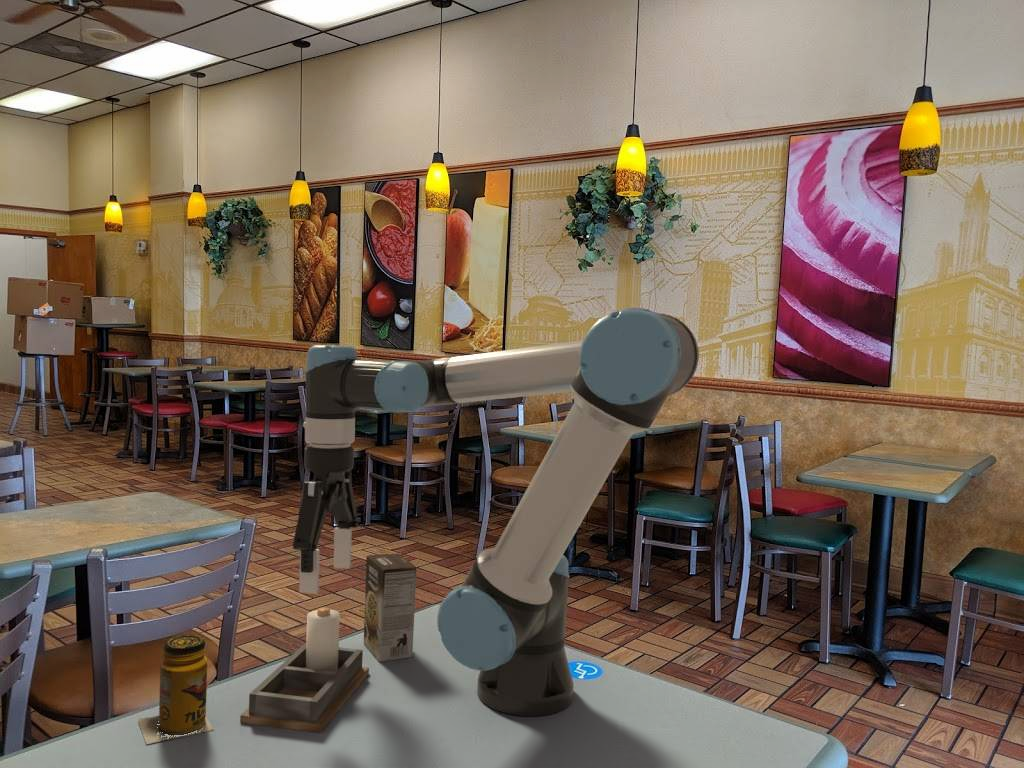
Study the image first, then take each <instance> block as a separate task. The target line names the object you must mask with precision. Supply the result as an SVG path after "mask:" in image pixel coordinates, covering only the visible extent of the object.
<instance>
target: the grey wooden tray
mask: <svg viewBox="0 0 1024 768" xmlns="http://www.w3.org/2000/svg"><path fill="white" fill-rule="evenodd" d="M363 651H364V649H358V648H357V649H356V648H348V647H339V651H338V671H337V672H333V671H325V670H316V669H307V668H305V667H306V643H303V644H302V645H301V646H300V647H299V648H298V649H297V650H296V651H294V652H293V654H291V655H290V656H289V657H288V658H287V659H286V660H284V662H283V663H281V664H280V665H279V666H278V667H277V668H276V669H275V670H274V671H272V672H271V673H270V674H269V675H268V676H267V677H266V678H265V679H264V680H263V681H262V682H261V683H260V684H259V685H258V686H256V687H255V688H253V690H251V692H250V693H249V695H248V696H249V697H248V698H249V699H248V707H247V708H246V709H245V710H244V711H243V712H242V713H241V714H240V715H239V716H240V717H239V718H240V719H239V722H240V723H244V724H250V725H251V724H252V725H259V726H265V727H276V728H281V727H282V729H289V728H290V729H291V730H299V731H305V732H314V733H321V734H322V732H323V731H324V730H325V729H326V728H327V726H328V725H329V724H330V722H331V721H332V720H333V718H334V717H335V716H336V715H337V713H338V712H339V711H340V710H341V708H343V706H344V705H345V704H346V702H347V701H348V700H349V699H350V698H351V696H353V693H355V691H356V690H357V689H358V688H359V686H360V685H361V684H362V683H363V681H364V680H365V678H367V676H368V675H369V672H370V671H369V670H370V667H368V666H363V655H364V654H363Z"/></svg>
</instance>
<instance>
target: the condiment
mask: <svg viewBox="0 0 1024 768" xmlns="http://www.w3.org/2000/svg"><path fill="white" fill-rule="evenodd" d="M205 647H206V642H205V639H204V638H203V636H199V635H197V634H196V635H193V634H184V635H183V634H182V635H177V636H174V637H171V638H169V639H167V641H166V642H164V645H163V655H162V657H163V659H162V660H161V663H160V667H159V708H158V710H159V711H158V713H159V714H158V715H156V716H150V717H148V716H147V717H142V718H138V719H137V720H138V725H139V727H140V731H141V734H142V736H143V739H144V741H145V744H146V745H150V744H153V743H159V742H161V741H167V740H171V739H177V738H179V737H176V736H175V737H174V735H184V734H187V735H185V736H183V737H182V738H184V737H188V736H193V735H197V734H201V733H206V732H210V731H212V730H214V728H213V726H212V724H211V722H210V721H209V719H208V717H207V715H206V714H207V713H206V712H207V690H208V689H207V687H208V686H207V681H208V659H207V656H206V655H205V654H206V650H205ZM158 721H159V722H158ZM157 724H160V725H157ZM157 727H158V728H157ZM202 728H203V729H202ZM196 730H197V732H198V733H196V732H195V733H196V734H195V733H194V734H192V733H191V732H194V731H196ZM200 730H201V731H202V732H201V731H200ZM199 731H200V732H199ZM158 732H159V733H160V732H161V733H162V732H163V733H162V734H159V735H157V733H158ZM188 733H191V734H189V735H188ZM164 734H168V735H171V736H172V735H173V737H171V736H170V737H171V738H170V737H169V739H167V738H168V737H167V736H166V737H162V738H161V735H164ZM157 736H158V737H157ZM166 739H167V740H166Z"/></svg>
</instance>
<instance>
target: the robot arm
mask: <svg viewBox="0 0 1024 768" xmlns="http://www.w3.org/2000/svg"><path fill="white" fill-rule="evenodd" d="M699 358H700V352H699V346H698V341H697V339H696V337H695V335H694V333H693V331H691V329H690V327H689V326H687V325H686V324H685V323H684V322H683V321H681V319H679V318H677V317H674V316H673V315H669V314H665V313H661V312H655V311H652V310H650V309H648V308H643V307H628V308H624V309H620V310H617V311H616V310H614V311H613V312H610V313H608V314H606V315H604V316H602V317H601V318H599V319H598V320H597V321H596V322H595V323H594V324H593V325H592V326H591V327H590V328H589V330H588V331H587V333H585V336H584V338H583V339H579V340H571V341H566V342H563V341H562V342H557V343H551V344H542V345H535V346H526V347H521V348H520V347H519V348H512V349H505V350H498V351H497V350H496V351H490V352H489V351H488V352H483V353H482V352H481V353H474V354H468V355H461V356H454V357H442V358H437V359H436V358H435V359H428V360H380V359H379V360H378V359H377V360H375V359H373V360H372V359H359V358H358V355H357V349H356V348H355V347H354V346H351V345H350V346H348V345H347V346H346V345H324V344H322V345H321V344H315V345H311V346H310V348H308V350H307V358H306V367H305V370H304V371H305V372H304V375H305V421H304V422H303V424H302V427H303V428H304V429H305V433H304V435H305V436H304V441H305V442H306V443H307V445H306V446H305V447H304V455H303V456H304V457H303V467H304V469H305V470H306V471H308V472H312V473H313V480H312V481H308V480H307V481H306V480H305V481H304V482H303V491H302V500H301V503H300V508H299V514H298V518H297V522H296V523H297V524H296V528H295V532H294V537H293V542H292V548H293V550H296V551H297V550H298V551H299V580H298V582H299V585H298V587H299V588H298V590H299V591H298V592H299V593H301V594H313V595H317V594H318V593H319V591H320V590H319V589H320V588H319V587H320V549H319V548H318V543H319V540H320V537H321V534H322V532H323V527H324V525H325V521H326V517H327V514H328V512H330V511H332V512H331V513H332V515H333V518H334V521H335V524H336V527H335V528H334V533H333V535H334V536H333V537H334V538H333V539H334V540H333V568H336V569H338V568H339V569H348V570H349V569H351V567H352V534H353V533H352V530H353V529H352V528H358V523H359V522H358V514H357V513H358V512H357V507H356V500H355V495H354V489H353V483H352V482H353V481H352V480H353V479H352V470H353V469H354V465H355V448H354V446H353V445H351V444H353V443H354V442H355V439H356V438H355V437H356V416H355V415H356V409H357V410H359V409H363V410H372V411H382V412H383V411H384V412H390V413H394V414H395V413H396V414H398V413H415V412H416V411H419V409H420V408H422V407H423V408H426V407H439V406H446V405H455V404H462V403H463V404H464V403H472V402H480V401H492V400H500V399H501V400H502V399H509V398H510V399H513V398H520V397H521V398H522V397H532V396H539V395H540V396H541V395H551V394H561V393H562V394H563V393H570V392H571V394H572V395H571V396H572V398H573V405H572V406H571V407H570V410H569V411H568V414H567V415H566V417H565V419H564V421H563V422H562V425H561V426H560V428H559V430H558V432H557V433H556V435H555V437H554V439H553V440H552V443H550V444H551V445H550V446H549V448H548V450H547V452H546V454H545V455H544V457H543V459H542V461H541V463H540V464H539V466H538V468H537V470H536V472H535V473H534V475H533V477H532V479H531V480H530V483H529V484H528V487H527V488H526V490H525V492H524V493H523V496H522V497H521V499H520V501H519V503H518V504H517V506H516V508H515V510H514V511H513V514H512V515H511V518H510V519H509V521H508V523H507V525H506V527H505V528H504V530H503V532H502V534H501V535H500V538H499V540H498V541H497V543H496V544H495V546H494V547H491V548H486V549H483V550H482V551H480V552H479V554H478V555H477V557H476V559H475V560H474V562H473V564H472V566H471V568H470V569H469V572H468V573H467V575H466V577H465V579H464V580H463V582H462V584H461V585H460V586H458V587H455V588H453V589H452V590H451V591H449V593H448V594H447V595H446V596H445V597H444V598H443V599H442V601H441V604H440V606H439V607H438V612H437V620H436V621H437V623H436V624H437V630H438V632H439V634H440V636H441V638H440V639H441V642H442V644H443V646H444V648H445V649H446V651H447V652H448V653H449V655H450V656H452V658H453V659H455V660H456V661H457V662H458V663H459V664H460V665H462V666H464V667H466V668H469V669H470V670H475V671H479V673H478V676H477V677H478V678H477V689H476V690H477V691H476V693H477V694H476V695H477V696H478V699H479V700H480V701H481V702H482V703H483V704H485V705H486V706H488V707H490V708H491V709H493V710H495V711H499V712H502V713H505V714H509V715H515V716H522V717H523V716H524V717H525V716H526V717H539V716H546V715H551V714H556V713H558V712H561V711H562V710H566V708H568V707H569V706H570V705H571V704H572V702H573V699H574V681H573V676H572V673H571V667H570V665H569V661H568V658H567V654H566V651H565V650H566V649H565V645H566V644H565V640H566V628H567V627H566V625H567V609H568V607H567V606H568V591H569V580H570V577H571V576H570V574H569V560H568V559H567V557H566V556H565V555H564V554H565V551H566V550H567V548H568V547H569V545H570V543H571V542H572V540H573V538H574V536H575V534H576V533H577V531H578V529H579V528H580V526H581V525H582V522H583V520H584V519H585V517H586V515H587V513H588V512H589V510H590V508H591V506H592V505H593V503H594V501H595V500H596V498H597V496H598V495H599V493H600V491H601V490H602V488H603V486H604V484H605V482H606V481H607V479H608V477H609V475H610V474H611V472H612V471H613V469H614V466H615V465H616V464H617V461H618V459H619V458H620V456H621V455H622V453H623V451H624V449H625V447H626V445H627V443H628V442H629V440H630V439H631V437H632V436H633V435H634V434H638V433H642V432H646V431H648V430H650V428H651V426H652V425H653V422H654V421H655V419H656V418H657V416H658V414H659V413H660V410H661V409H662V407H663V405H664V404H665V403H666V400H667V399H668V397H669V396H671V395H674V394H675V393H678V392H680V391H681V390H682V389H683V388H685V387H686V386H687V385H688V384H689V383H690V382H691V380H692V379H693V377H694V376H695V374H696V372H697V368H698V365H699V361H700V359H699ZM299 593H298V594H299Z"/></svg>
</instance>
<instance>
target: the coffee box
mask: <svg viewBox="0 0 1024 768" xmlns="http://www.w3.org/2000/svg"><path fill="white" fill-rule="evenodd" d="M365 562H366V563H365V564H366V565H365V568H366V569H365V593H364V594H365V596H364V597H365V599H364V621H363V623H364V624H363V626H364V627H363V644H364V645H365V646H366V648H367V649H368V650H369V651H370V653H371V654H372V655H373V656H374V657H375V658H376V660H377V661H378V663H379V662H382V663H383V662H386V661H387V662H388V661H394V660H401V659H407V658H412V657H413V649H414V648H413V646H414V645H413V644H414V629H415V627H414V626H415V625H414V624H415V613H416V612H415V611H416V609H415V608H416V607H415V605H416V590H417V589H416V587H417V584H416V583H417V570H418V569H417V568H418V567H417V566H416V565H415V564H413V562H411V561H409V560H408V558H406V557H404V556H403V555H401V553H399V552H398V553H397V552H396V553H390V554H389V553H380V554H370V555H366V561H365Z"/></svg>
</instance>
